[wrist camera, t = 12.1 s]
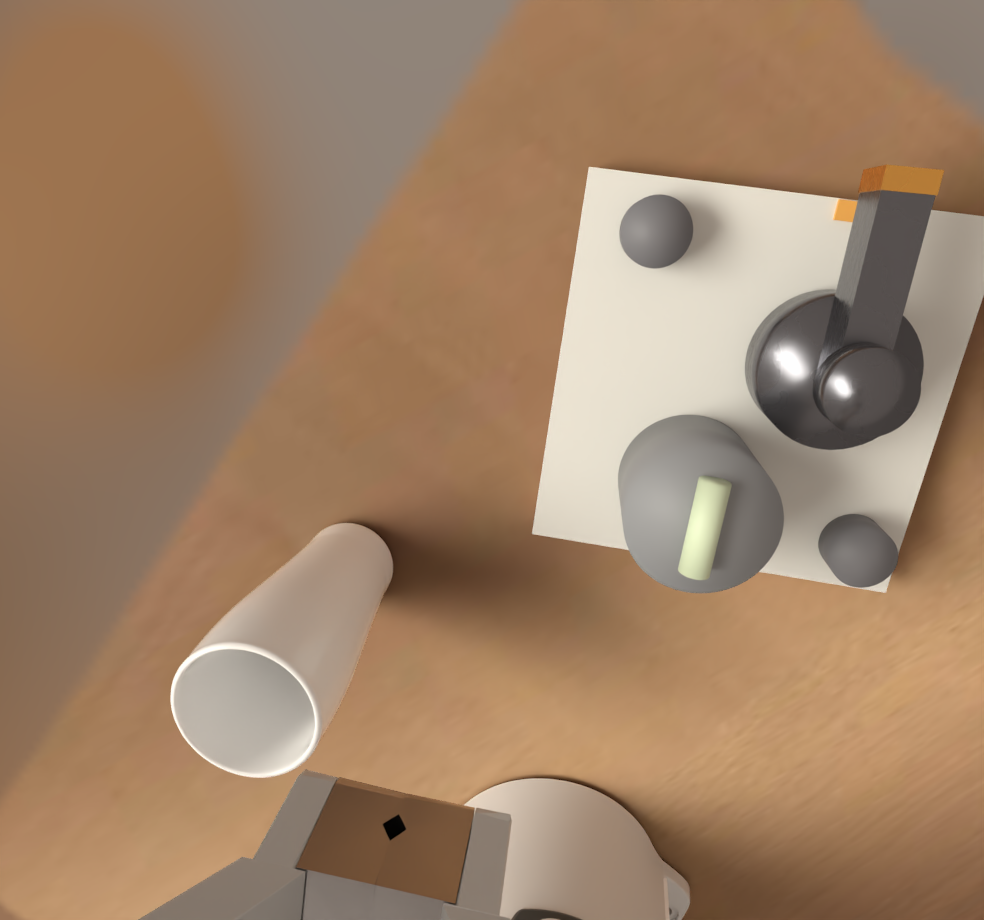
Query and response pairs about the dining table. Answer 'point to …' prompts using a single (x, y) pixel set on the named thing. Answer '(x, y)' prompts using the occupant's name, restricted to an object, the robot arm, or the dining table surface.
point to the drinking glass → (283, 656)
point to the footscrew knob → (851, 327)
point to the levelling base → (730, 387)
